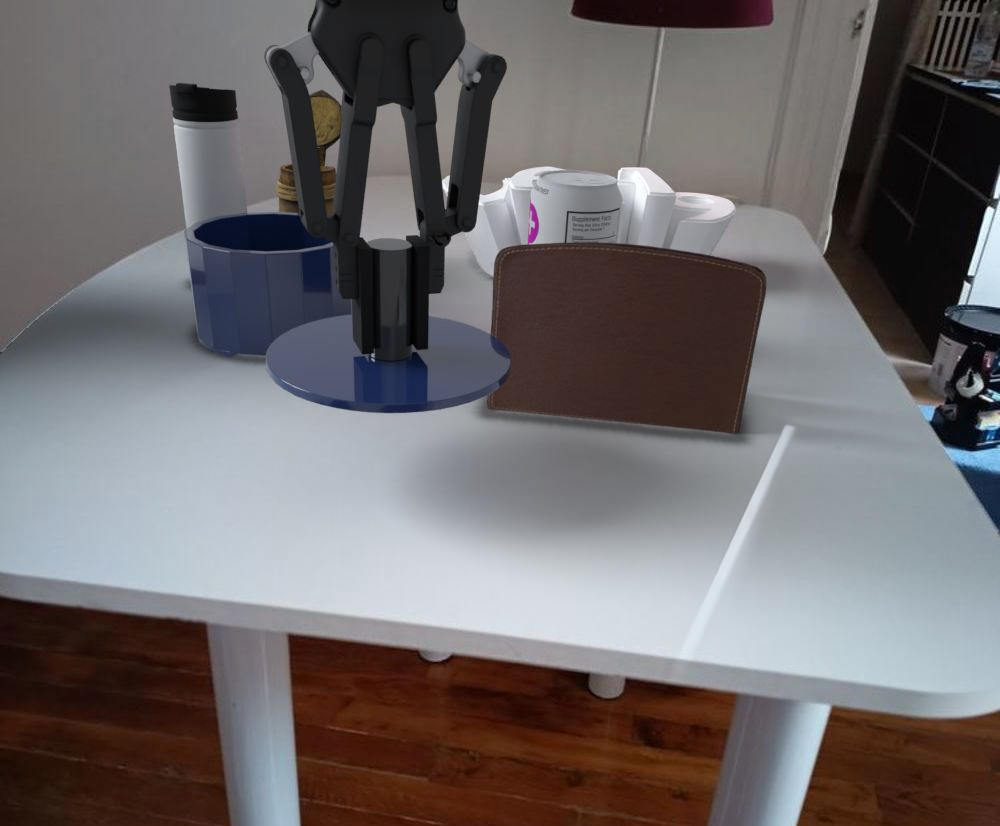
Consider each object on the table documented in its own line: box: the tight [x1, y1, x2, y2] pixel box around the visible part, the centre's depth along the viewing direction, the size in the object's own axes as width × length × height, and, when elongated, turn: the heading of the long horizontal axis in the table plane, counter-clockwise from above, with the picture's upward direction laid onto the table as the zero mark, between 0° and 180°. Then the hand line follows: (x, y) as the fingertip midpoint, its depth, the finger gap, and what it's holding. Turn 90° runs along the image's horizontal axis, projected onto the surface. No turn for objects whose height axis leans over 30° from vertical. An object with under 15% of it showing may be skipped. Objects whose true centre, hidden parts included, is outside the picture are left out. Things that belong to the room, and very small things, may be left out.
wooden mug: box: [275, 89, 342, 215], centre depth 102 cm, size 9×14×18 cm, turn 178°
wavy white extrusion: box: [442, 166, 737, 278], centre depth 107 cm, size 35×16×11 cm, turn 88°
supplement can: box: [528, 169, 623, 244], centre depth 85 cm, size 8×8×15 cm
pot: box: [183, 211, 352, 358], centre depth 84 cm, size 15×15×10 cm
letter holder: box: [486, 242, 768, 435], centre depth 72 cm, size 10×20×14 cm, turn 82°
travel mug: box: [168, 82, 248, 229], centre depth 93 cm, size 6×7×20 cm
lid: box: [265, 237, 511, 414], centre depth 57 cm, size 16×16×8 cm
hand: (390, 343), depth 58 cm, fingers closed on lid, 3 cm apart
